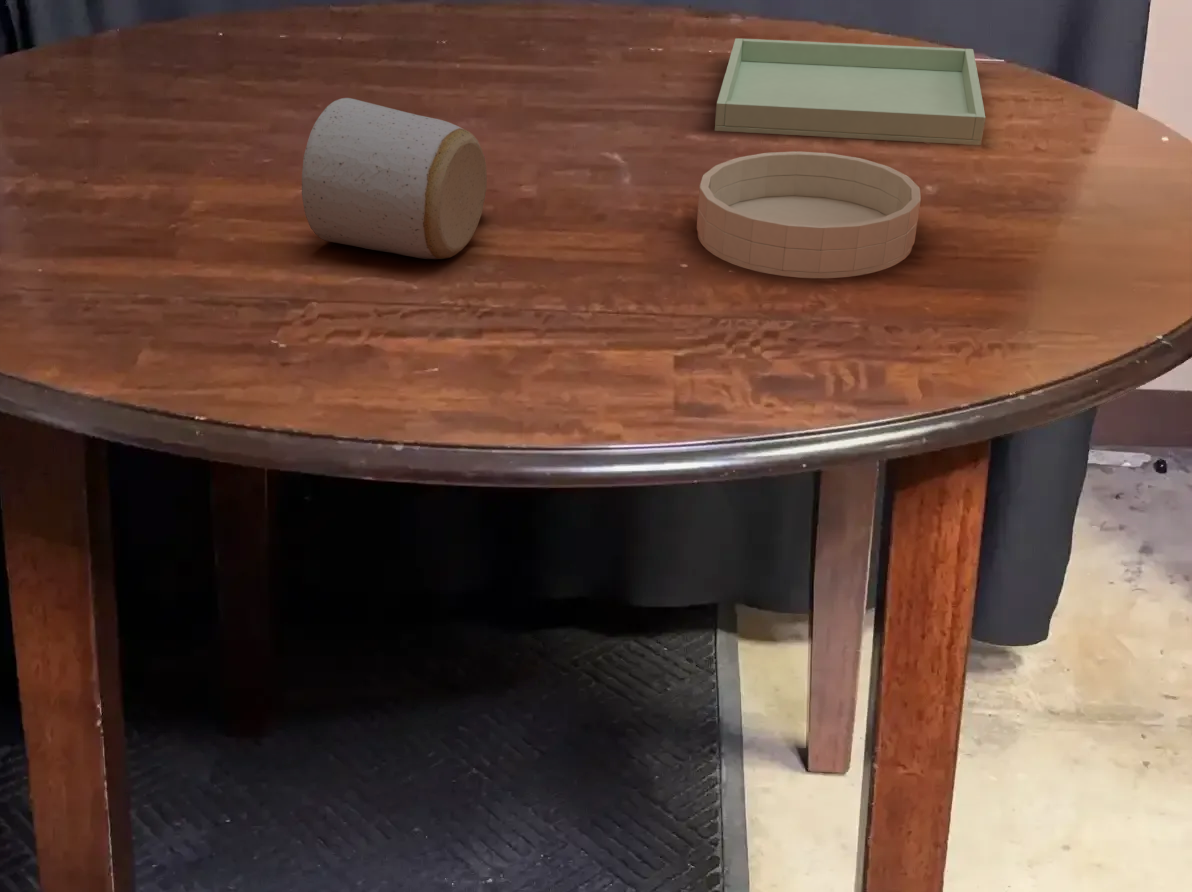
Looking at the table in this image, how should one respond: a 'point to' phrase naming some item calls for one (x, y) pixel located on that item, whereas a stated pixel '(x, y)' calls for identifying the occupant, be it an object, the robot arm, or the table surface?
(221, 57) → the table surface
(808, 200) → the bowl
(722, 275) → the table surface
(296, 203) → the table surface
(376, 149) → the ceramic mug
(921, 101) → the tray
